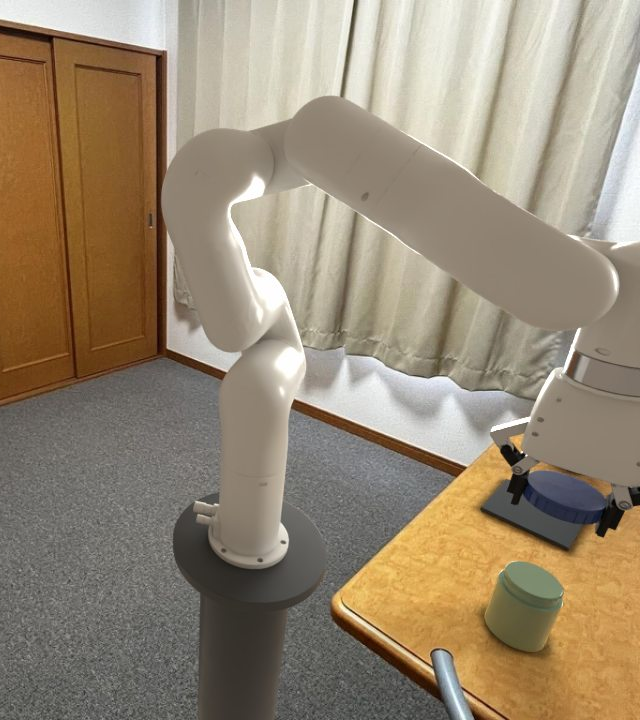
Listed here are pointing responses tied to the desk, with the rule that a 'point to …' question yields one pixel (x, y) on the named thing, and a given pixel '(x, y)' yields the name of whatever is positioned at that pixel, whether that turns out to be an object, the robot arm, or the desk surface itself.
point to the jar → (524, 606)
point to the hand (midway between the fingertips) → (555, 512)
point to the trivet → (530, 518)
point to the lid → (564, 497)
